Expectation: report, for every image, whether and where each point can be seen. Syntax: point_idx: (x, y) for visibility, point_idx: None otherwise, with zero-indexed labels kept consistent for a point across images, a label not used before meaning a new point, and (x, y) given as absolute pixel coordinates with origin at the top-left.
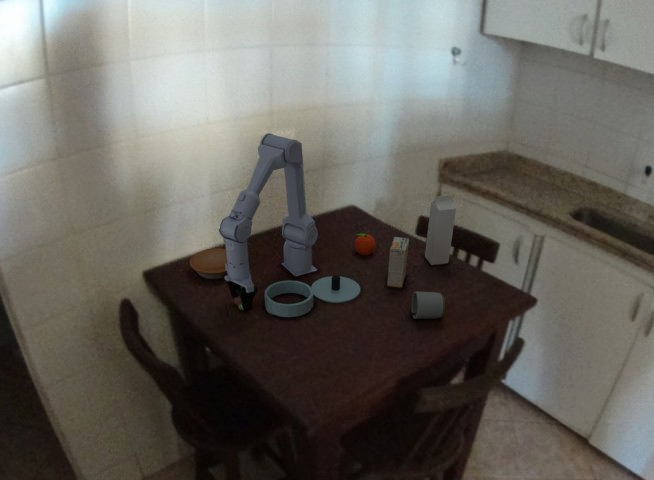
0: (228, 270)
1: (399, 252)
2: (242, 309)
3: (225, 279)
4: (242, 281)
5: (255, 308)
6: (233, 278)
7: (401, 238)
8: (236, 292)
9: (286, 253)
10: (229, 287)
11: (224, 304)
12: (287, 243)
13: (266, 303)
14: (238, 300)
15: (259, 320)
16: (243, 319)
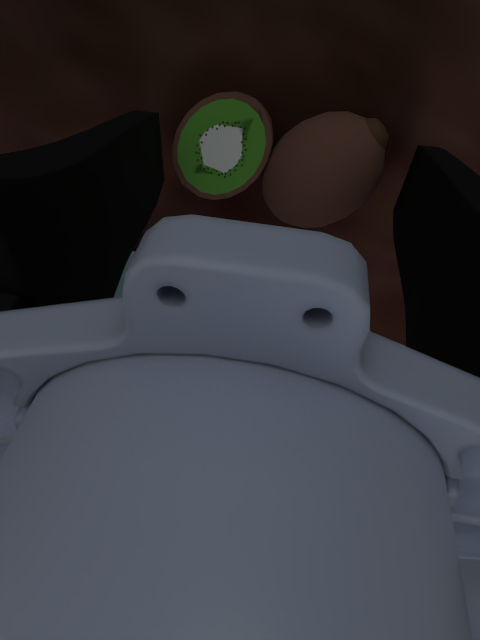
0: (228, 600)
1: None
2: (191, 111)
3: (265, 231)
4: (13, 398)
5: (204, 212)
6: (76, 381)
7: None
8: (409, 215)
9: (468, 566)
10: (470, 198)
11: (462, 9)
12: (477, 634)
13: (117, 292)
14: (298, 155)
15: (28, 146)
16: (80, 33)
